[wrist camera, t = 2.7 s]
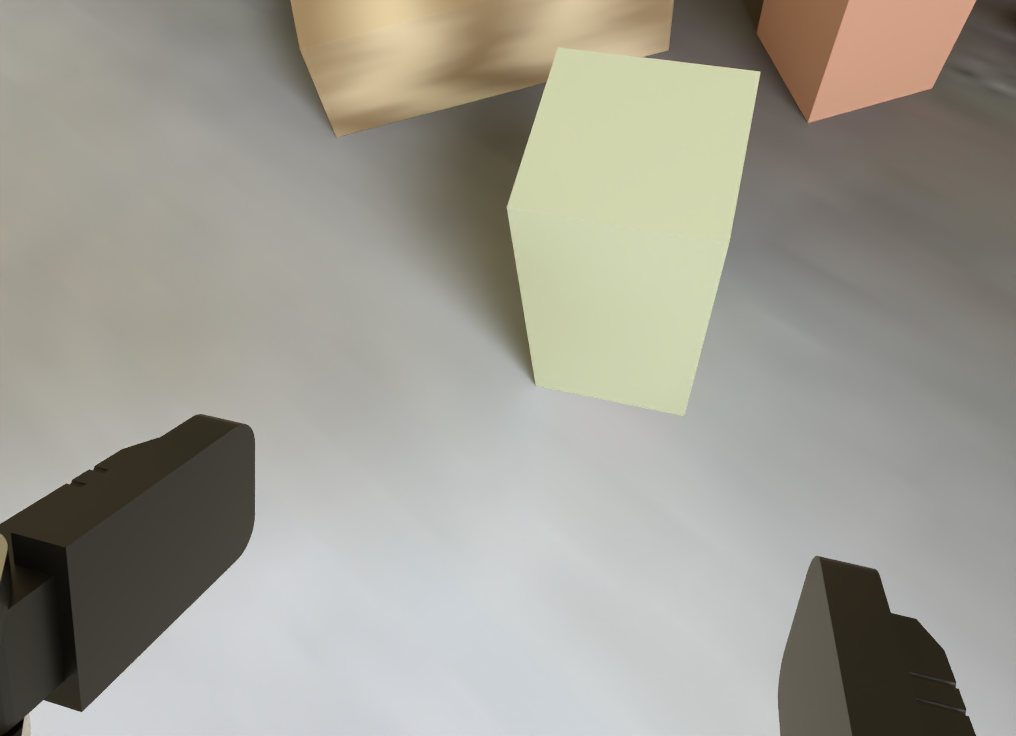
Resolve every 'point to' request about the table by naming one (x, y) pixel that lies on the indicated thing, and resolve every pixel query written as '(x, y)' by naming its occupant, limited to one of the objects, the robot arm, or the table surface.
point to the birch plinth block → (455, 49)
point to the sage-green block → (627, 221)
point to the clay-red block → (858, 49)
